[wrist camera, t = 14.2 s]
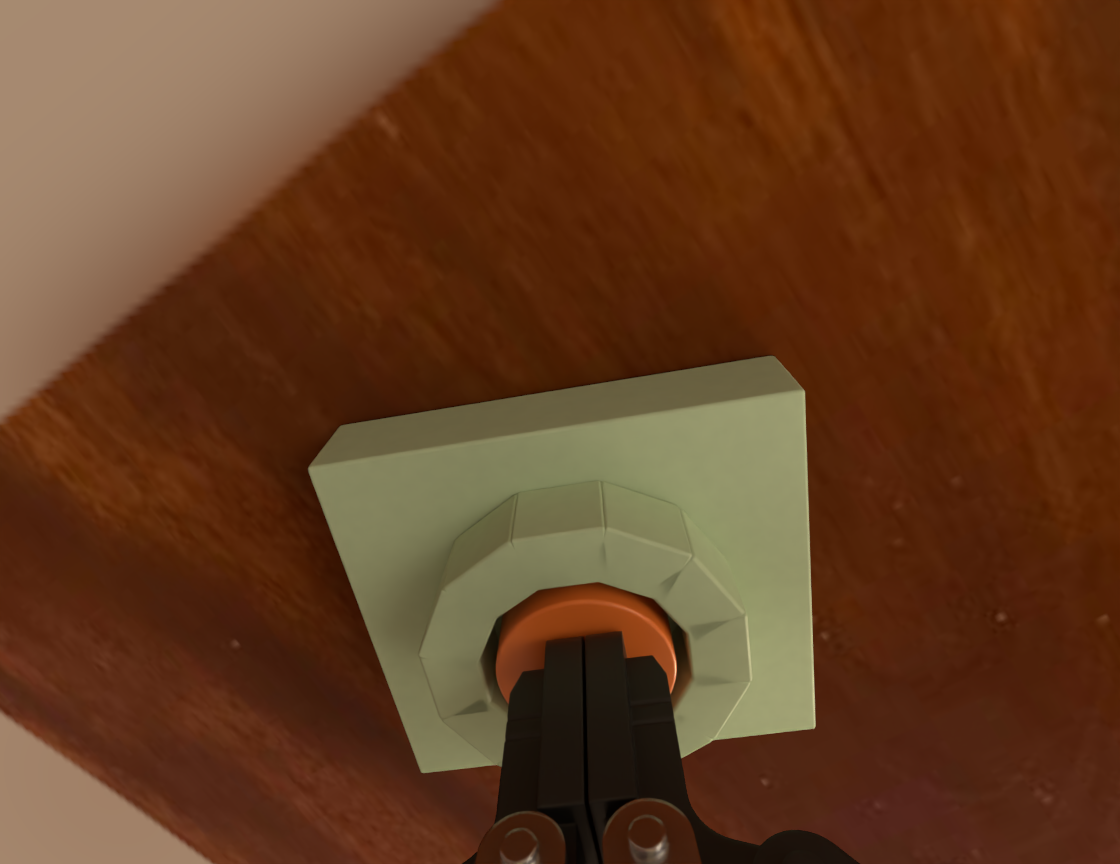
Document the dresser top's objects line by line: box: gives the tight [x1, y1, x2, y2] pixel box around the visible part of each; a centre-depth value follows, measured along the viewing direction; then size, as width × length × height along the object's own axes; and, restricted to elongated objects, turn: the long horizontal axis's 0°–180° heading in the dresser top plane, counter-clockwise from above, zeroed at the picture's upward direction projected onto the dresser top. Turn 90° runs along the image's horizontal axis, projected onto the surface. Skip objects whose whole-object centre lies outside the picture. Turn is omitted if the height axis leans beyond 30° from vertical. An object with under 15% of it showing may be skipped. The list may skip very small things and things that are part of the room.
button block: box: [308, 356, 815, 773], centre depth 15 cm, size 10×9×4 cm
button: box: [496, 582, 677, 704], centre depth 14 cm, size 4×4×2 cm
